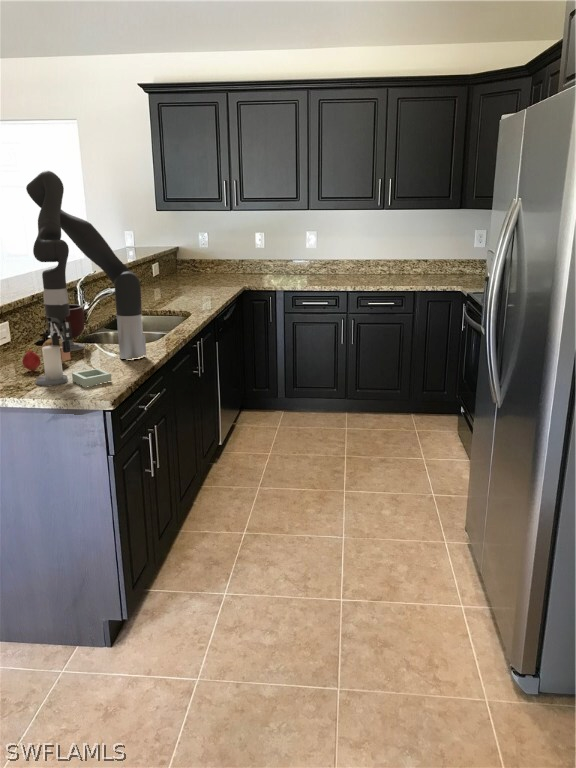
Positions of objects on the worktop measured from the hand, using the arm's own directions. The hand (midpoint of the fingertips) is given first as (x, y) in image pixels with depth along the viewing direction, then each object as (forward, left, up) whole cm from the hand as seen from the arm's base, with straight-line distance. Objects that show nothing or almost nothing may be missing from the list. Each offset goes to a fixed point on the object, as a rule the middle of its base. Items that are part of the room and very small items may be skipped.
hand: (61, 349), depth 200 cm
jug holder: (-6, +9, -10) cm, 15 cm away
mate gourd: (-20, -43, -10) cm, 48 cm away
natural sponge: (-6, -21, -10) cm, 24 cm away
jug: (+2, 0, -9) cm, 9 cm away
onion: (+4, -17, -10) cm, 20 cm away
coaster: (+4, 0, -10) cm, 11 cm away
